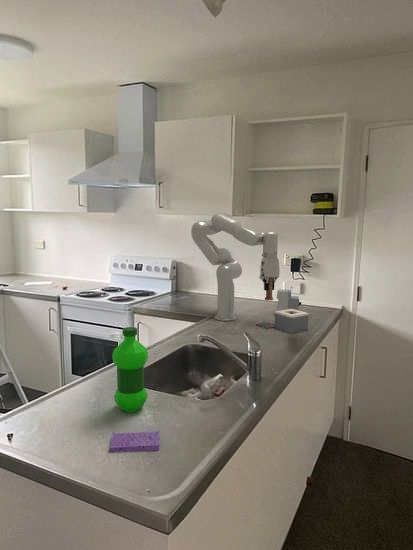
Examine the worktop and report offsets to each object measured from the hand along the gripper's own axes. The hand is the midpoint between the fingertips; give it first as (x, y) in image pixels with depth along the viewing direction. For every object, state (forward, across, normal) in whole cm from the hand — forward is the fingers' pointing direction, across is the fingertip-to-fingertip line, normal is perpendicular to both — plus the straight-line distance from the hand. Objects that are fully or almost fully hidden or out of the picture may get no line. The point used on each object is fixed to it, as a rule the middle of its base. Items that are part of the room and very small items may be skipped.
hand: (269, 289), depth 222 cm
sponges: (+21, -108, -69) cm, 130 cm away
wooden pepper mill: (+5, 0, 0) cm, 5 cm away
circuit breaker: (+20, +26, +11) cm, 34 cm away
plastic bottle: (+20, -101, -50) cm, 115 cm away
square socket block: (+20, +6, -11) cm, 24 cm away
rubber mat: (+20, 0, 0) cm, 20 cm away
